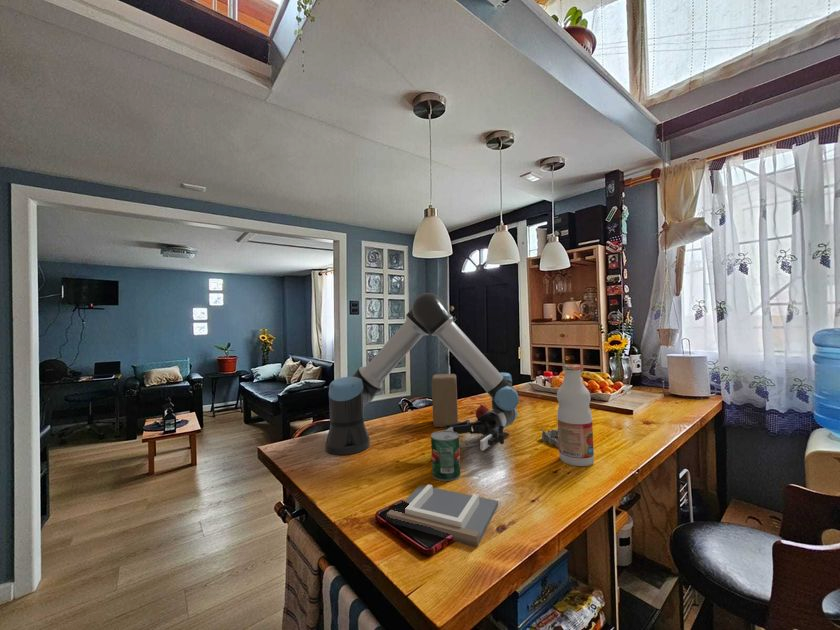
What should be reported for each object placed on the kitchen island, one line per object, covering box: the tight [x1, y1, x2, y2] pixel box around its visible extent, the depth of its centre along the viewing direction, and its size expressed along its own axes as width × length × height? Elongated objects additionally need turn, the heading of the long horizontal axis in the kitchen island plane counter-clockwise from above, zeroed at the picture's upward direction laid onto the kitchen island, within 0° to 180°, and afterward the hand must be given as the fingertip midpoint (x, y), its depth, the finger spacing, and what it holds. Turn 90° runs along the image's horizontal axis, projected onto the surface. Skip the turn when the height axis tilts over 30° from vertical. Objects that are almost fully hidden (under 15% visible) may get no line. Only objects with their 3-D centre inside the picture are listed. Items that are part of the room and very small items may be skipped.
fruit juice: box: [556, 364, 595, 467], centre depth 101 cm, size 9×9×28 cm
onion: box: [475, 403, 490, 420], centre depth 141 cm, size 6×6×8 cm
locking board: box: [386, 484, 499, 548], centre depth 76 cm, size 20×16×3 cm
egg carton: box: [539, 428, 559, 448], centre depth 116 cm, size 11×8×4 cm
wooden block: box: [431, 373, 459, 428], centre depth 142 cm, size 10×10×20 cm
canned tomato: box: [430, 430, 461, 482], centre depth 95 cm, size 8×8×11 cm
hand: (460, 441), depth 101 cm, fingers open, 13 cm apart
